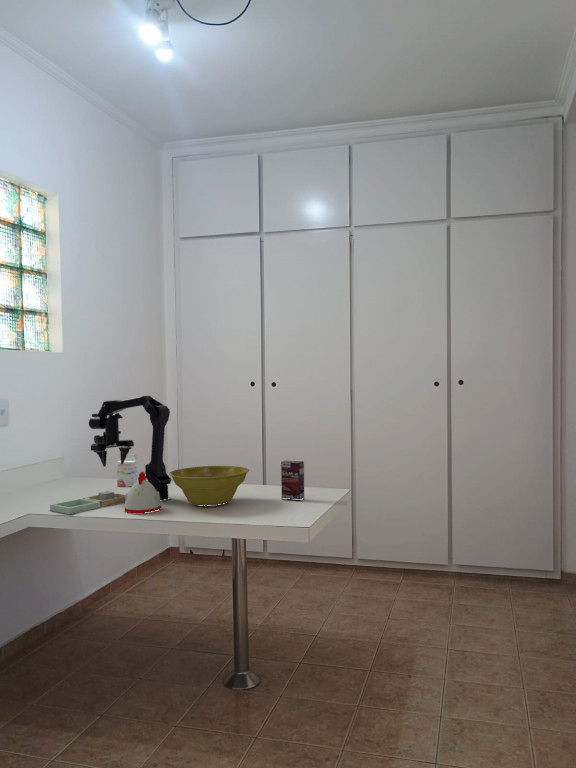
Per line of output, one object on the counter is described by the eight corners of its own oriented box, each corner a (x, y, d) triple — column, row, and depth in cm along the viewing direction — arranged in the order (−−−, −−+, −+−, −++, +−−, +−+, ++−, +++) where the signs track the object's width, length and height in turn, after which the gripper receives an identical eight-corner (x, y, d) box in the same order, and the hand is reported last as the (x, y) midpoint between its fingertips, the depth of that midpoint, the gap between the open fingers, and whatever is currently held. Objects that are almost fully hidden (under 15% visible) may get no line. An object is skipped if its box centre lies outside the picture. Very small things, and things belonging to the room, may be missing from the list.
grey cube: (114, 501, 274) (114, 492, 274) (105, 503, 271) (105, 493, 271) (107, 500, 277) (107, 491, 277) (98, 502, 274) (98, 492, 273)
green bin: (100, 508, 264) (100, 501, 264) (69, 514, 253) (69, 508, 253) (80, 504, 272) (80, 498, 272) (50, 510, 261) (49, 504, 260)
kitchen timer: (120, 514, 252) (118, 475, 252) (130, 506, 266) (129, 469, 265) (156, 514, 251) (155, 474, 251) (164, 506, 265) (163, 469, 265)
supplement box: (281, 500, 273) (280, 461, 272) (286, 498, 277) (285, 460, 276) (299, 501, 269) (299, 462, 268) (305, 499, 273) (304, 461, 272)
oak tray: (130, 501, 276) (130, 495, 276) (102, 507, 264) (102, 501, 264) (110, 498, 284) (110, 492, 283) (82, 504, 272) (82, 498, 272)
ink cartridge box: (116, 486, 312) (116, 455, 311) (120, 484, 317) (119, 454, 316) (134, 486, 311) (133, 455, 311) (138, 484, 316) (137, 454, 315)
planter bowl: (164, 499, 278) (163, 467, 278) (238, 493, 289) (237, 462, 288) (177, 515, 248) (176, 479, 247) (259, 507, 258) (259, 473, 258)
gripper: (118, 426, 299) (119, 461, 299) (82, 430, 285) (83, 466, 285) (133, 427, 292) (135, 462, 292) (97, 431, 277) (99, 468, 278)
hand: (113, 465), depth 287 cm, fingers open, 9 cm apart
